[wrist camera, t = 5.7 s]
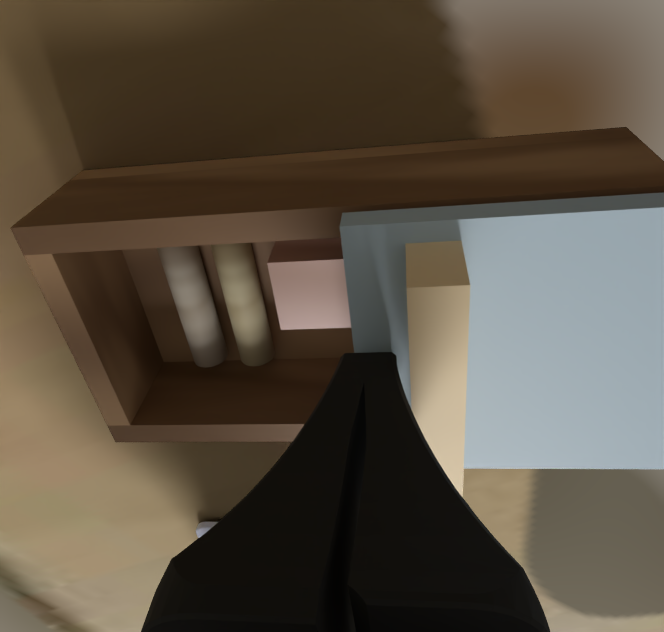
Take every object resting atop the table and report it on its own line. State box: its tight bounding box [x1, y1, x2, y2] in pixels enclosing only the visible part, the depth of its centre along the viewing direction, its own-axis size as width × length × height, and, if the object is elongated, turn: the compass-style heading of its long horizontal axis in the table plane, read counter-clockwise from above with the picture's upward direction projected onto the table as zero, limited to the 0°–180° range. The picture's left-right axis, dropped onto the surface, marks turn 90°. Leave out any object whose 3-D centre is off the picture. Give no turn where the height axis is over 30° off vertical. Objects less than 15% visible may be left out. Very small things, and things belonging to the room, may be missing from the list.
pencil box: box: [11, 127, 664, 442], centre depth 17 cm, size 8×16×4 cm, turn 97°
